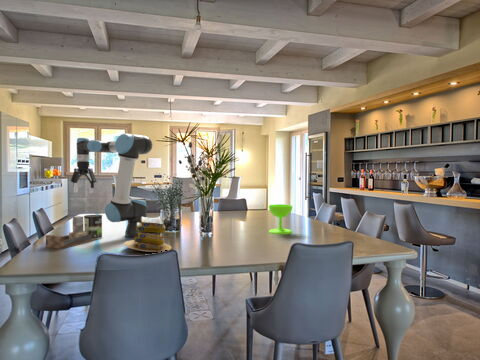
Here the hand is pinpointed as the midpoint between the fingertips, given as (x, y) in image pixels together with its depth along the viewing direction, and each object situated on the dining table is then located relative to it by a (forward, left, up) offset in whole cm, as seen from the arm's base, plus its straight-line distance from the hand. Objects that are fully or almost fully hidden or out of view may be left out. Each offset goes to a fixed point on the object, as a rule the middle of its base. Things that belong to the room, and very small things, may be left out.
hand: (83, 192), depth 230 cm
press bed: (-21, +30, -27) cm, 46 cm away
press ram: (-21, +24, -25) cm, 40 cm away
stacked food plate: (-70, +24, -27) cm, 78 cm away
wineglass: (-123, -50, -27) cm, 135 cm away
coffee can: (-21, +13, -27) cm, 37 cm away
